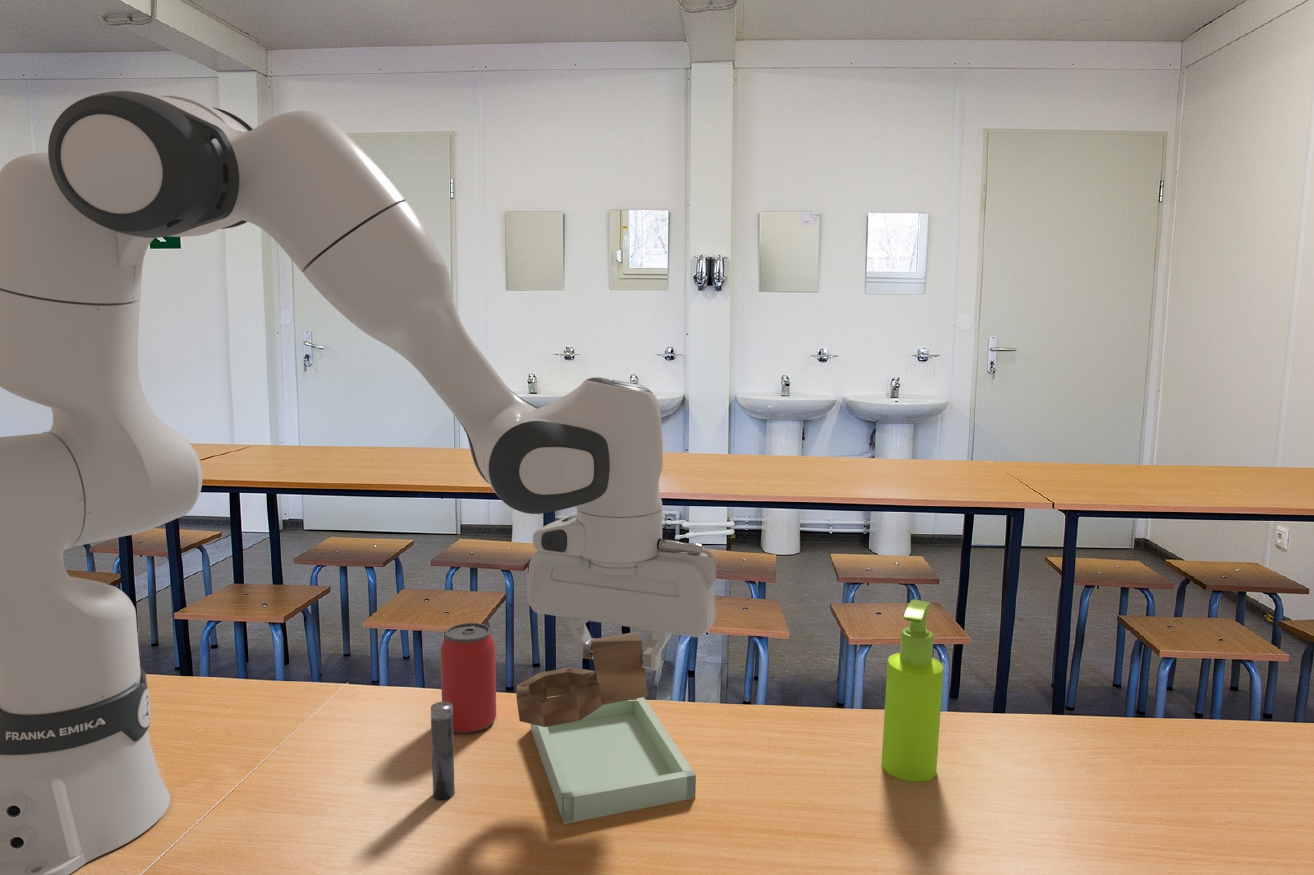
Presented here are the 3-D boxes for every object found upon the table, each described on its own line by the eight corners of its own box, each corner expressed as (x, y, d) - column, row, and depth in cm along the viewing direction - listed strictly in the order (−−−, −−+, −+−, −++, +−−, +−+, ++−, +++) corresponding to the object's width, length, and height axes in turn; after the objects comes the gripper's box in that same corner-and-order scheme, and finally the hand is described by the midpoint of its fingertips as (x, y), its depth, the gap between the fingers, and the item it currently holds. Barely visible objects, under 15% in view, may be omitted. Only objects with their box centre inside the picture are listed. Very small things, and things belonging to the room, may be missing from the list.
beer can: (502, 711, 101) (501, 622, 99) (486, 737, 94) (485, 642, 92) (453, 708, 101) (451, 619, 100) (434, 734, 95) (431, 640, 93)
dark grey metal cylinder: (433, 803, 81) (431, 713, 80) (432, 791, 83) (430, 703, 82) (455, 799, 82) (453, 710, 80) (453, 788, 84) (451, 700, 82)
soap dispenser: (874, 783, 86) (884, 609, 83) (887, 753, 92) (896, 590, 89) (929, 799, 83) (942, 619, 80) (939, 767, 89) (951, 599, 86)
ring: (519, 698, 85) (512, 644, 84) (639, 676, 87) (633, 624, 86) (519, 731, 76) (511, 673, 76) (652, 707, 79) (645, 649, 78)
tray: (563, 827, 77) (563, 798, 77) (530, 729, 96) (530, 705, 96) (695, 802, 82) (695, 775, 81) (638, 713, 101) (639, 690, 100)
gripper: (724, 537, 80) (722, 665, 82) (548, 519, 87) (549, 637, 89) (707, 553, 74) (704, 691, 76) (518, 532, 81) (520, 658, 83)
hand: (619, 662), depth 82 cm, fingers closed on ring, 6 cm apart
